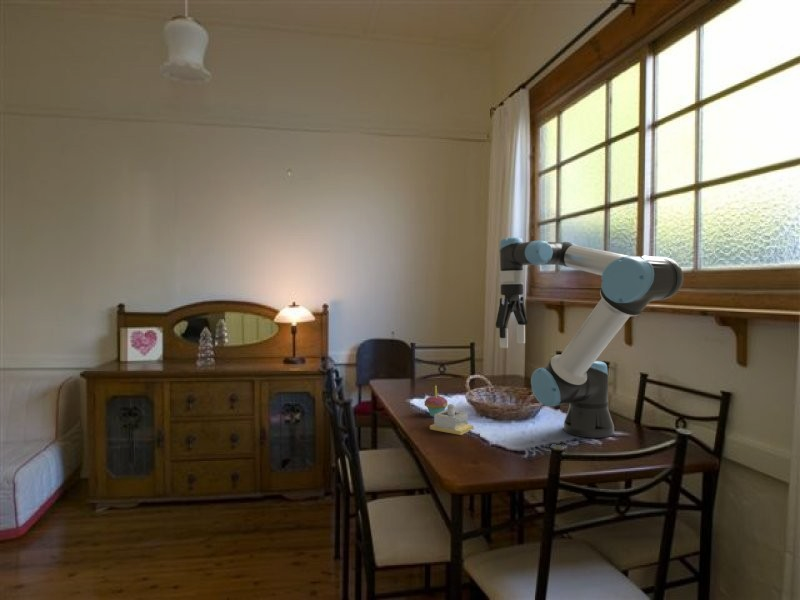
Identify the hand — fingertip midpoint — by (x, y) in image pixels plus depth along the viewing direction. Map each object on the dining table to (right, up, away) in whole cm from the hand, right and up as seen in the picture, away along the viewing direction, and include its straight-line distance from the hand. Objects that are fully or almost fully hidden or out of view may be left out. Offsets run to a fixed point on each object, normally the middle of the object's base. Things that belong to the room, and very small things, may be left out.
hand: (512, 345), depth 172 cm
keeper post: (-21, -27, -5) cm, 35 cm away
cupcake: (-25, -27, +13) cm, 39 cm away
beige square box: (-22, -26, -5) cm, 34 cm away
